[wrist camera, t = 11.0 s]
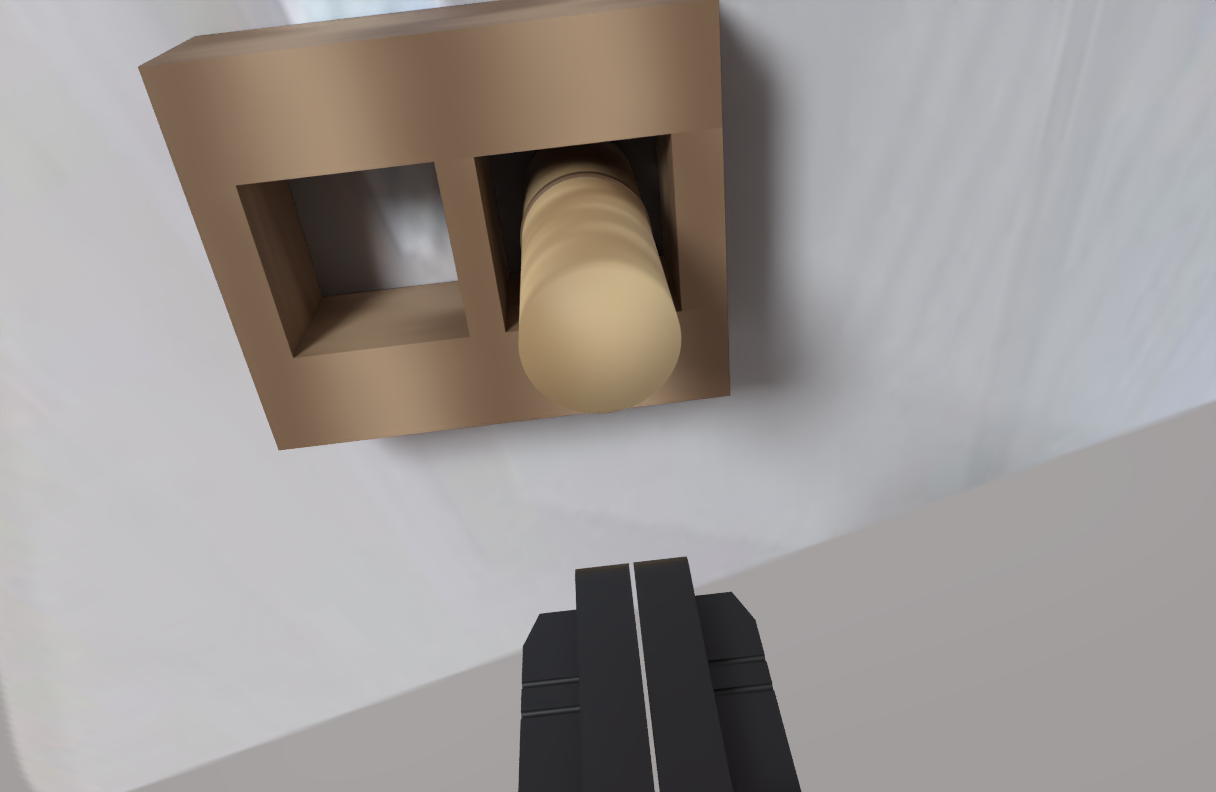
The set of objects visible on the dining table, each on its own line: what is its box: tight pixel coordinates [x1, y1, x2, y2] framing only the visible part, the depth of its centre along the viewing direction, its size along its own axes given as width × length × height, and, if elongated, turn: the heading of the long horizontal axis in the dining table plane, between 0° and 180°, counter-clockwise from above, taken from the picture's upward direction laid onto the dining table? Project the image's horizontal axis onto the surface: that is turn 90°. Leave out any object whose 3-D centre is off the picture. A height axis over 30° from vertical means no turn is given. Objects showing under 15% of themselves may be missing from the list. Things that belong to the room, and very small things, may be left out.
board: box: [138, 0, 730, 450], centre depth 25 cm, size 14×11×4 cm
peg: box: [518, 141, 681, 413], centre depth 22 cm, size 4×4×10 cm
